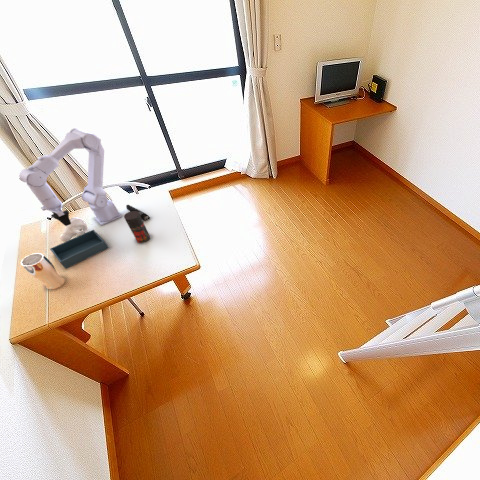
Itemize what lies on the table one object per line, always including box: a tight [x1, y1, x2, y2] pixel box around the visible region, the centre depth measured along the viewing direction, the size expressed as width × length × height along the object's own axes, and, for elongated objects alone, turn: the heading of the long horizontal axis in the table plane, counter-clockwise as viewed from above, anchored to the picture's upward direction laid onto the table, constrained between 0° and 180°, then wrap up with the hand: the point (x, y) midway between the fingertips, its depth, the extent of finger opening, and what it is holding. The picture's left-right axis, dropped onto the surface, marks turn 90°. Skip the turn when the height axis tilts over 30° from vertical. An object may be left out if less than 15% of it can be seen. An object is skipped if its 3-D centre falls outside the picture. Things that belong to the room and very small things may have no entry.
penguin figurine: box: [59, 216, 88, 243], centre depth 129 cm, size 6×8×12 cm
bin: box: [49, 229, 109, 270], centre depth 124 cm, size 17×11×4 cm, turn 141°
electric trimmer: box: [125, 204, 151, 222], centre depth 146 cm, size 4×16×3 cm, turn 58°
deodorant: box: [123, 211, 151, 244], centre depth 129 cm, size 6×6×15 cm
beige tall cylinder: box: [20, 252, 66, 290], centre depth 108 cm, size 7×7×15 cm
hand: (64, 220), depth 125 cm, fingers open, 7 cm apart
